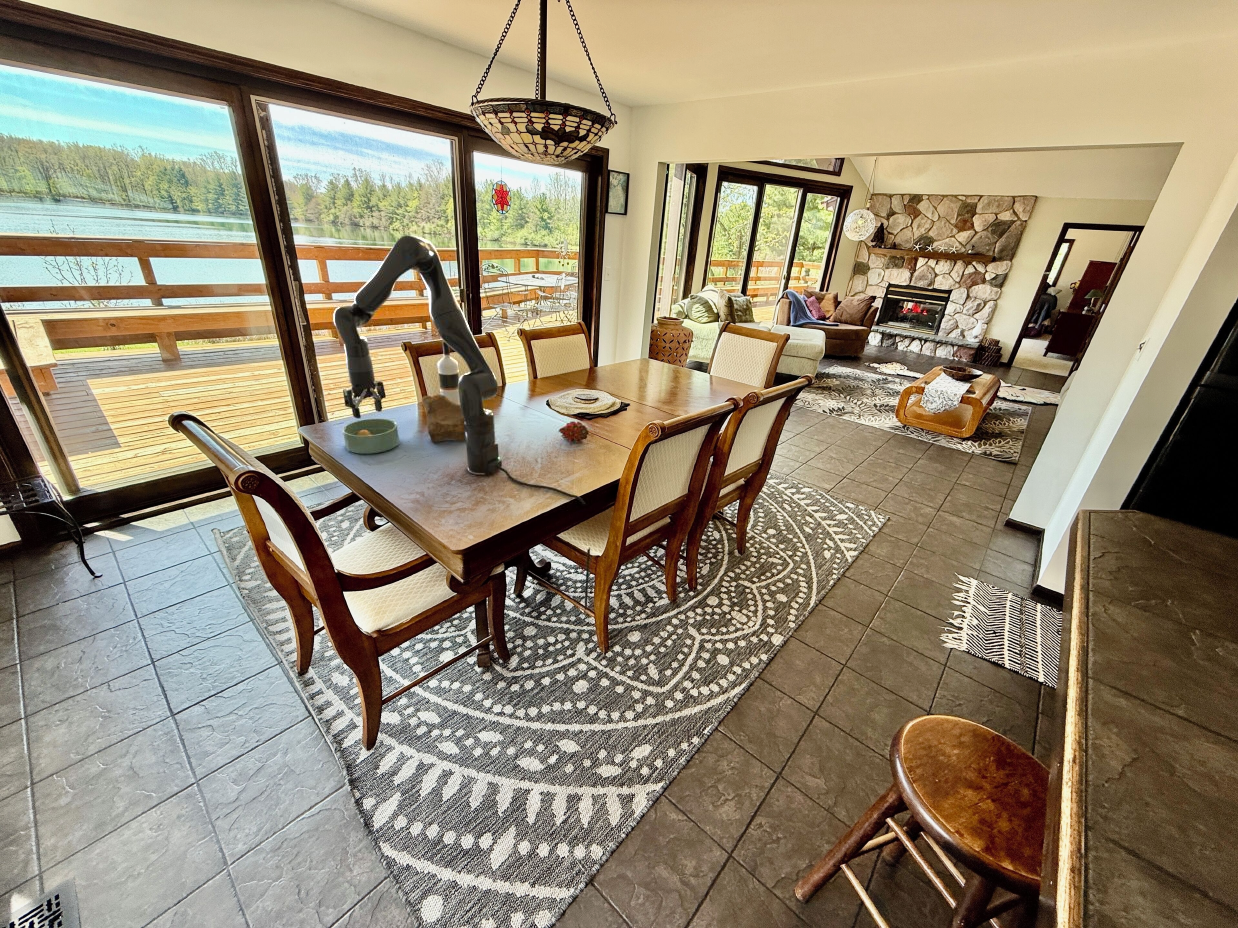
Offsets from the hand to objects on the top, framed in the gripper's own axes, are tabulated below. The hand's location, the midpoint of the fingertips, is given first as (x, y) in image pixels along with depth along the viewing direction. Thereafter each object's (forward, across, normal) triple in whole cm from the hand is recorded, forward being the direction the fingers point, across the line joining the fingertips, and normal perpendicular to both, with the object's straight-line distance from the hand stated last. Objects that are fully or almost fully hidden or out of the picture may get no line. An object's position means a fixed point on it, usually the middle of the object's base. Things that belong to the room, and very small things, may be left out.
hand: (368, 414), depth 166 cm
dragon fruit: (+13, +44, -57) cm, 73 cm away
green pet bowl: (+12, +1, +1) cm, 12 cm away
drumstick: (+11, 0, 0) cm, 11 cm away
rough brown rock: (+12, +20, -16) cm, 28 cm away
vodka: (+12, +44, +4) cm, 46 cm away
